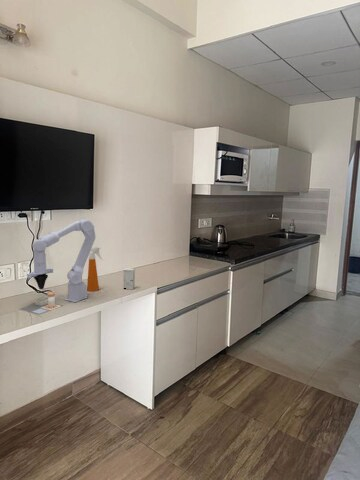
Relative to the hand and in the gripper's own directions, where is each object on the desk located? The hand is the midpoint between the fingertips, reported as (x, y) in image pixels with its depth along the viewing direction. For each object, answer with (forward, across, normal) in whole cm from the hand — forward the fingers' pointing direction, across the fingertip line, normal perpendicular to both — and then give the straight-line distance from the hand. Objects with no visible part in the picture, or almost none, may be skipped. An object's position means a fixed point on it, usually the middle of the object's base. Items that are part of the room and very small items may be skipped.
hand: (41, 288), depth 178 cm
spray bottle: (+8, -33, +6) cm, 35 cm away
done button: (+7, 0, 0) cm, 7 cm away
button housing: (+8, 0, 0) cm, 8 cm away
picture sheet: (+8, +4, +4) cm, 10 cm away
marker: (+8, +1, +8) cm, 12 cm away
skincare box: (+8, -46, +22) cm, 51 cm away
